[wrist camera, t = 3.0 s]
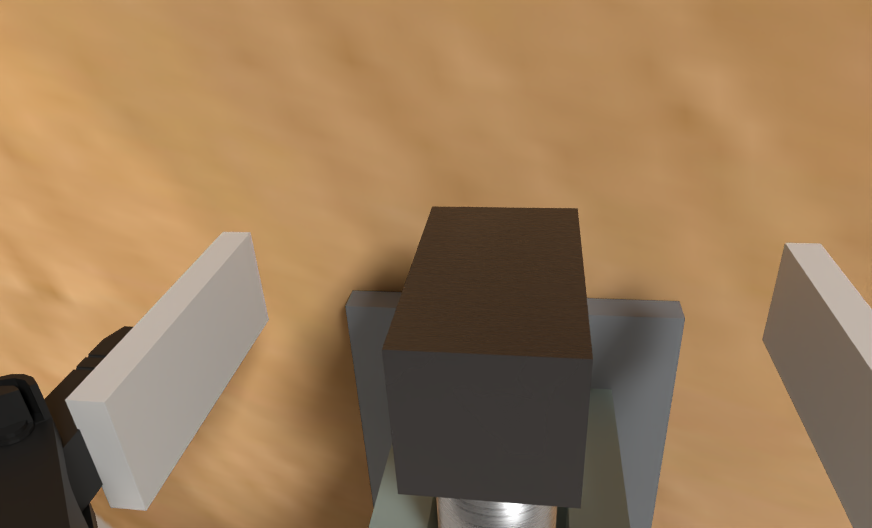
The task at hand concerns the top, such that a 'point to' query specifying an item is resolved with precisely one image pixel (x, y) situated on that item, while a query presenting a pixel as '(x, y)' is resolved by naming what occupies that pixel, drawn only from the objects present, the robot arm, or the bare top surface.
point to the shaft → (492, 367)
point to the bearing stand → (607, 420)
